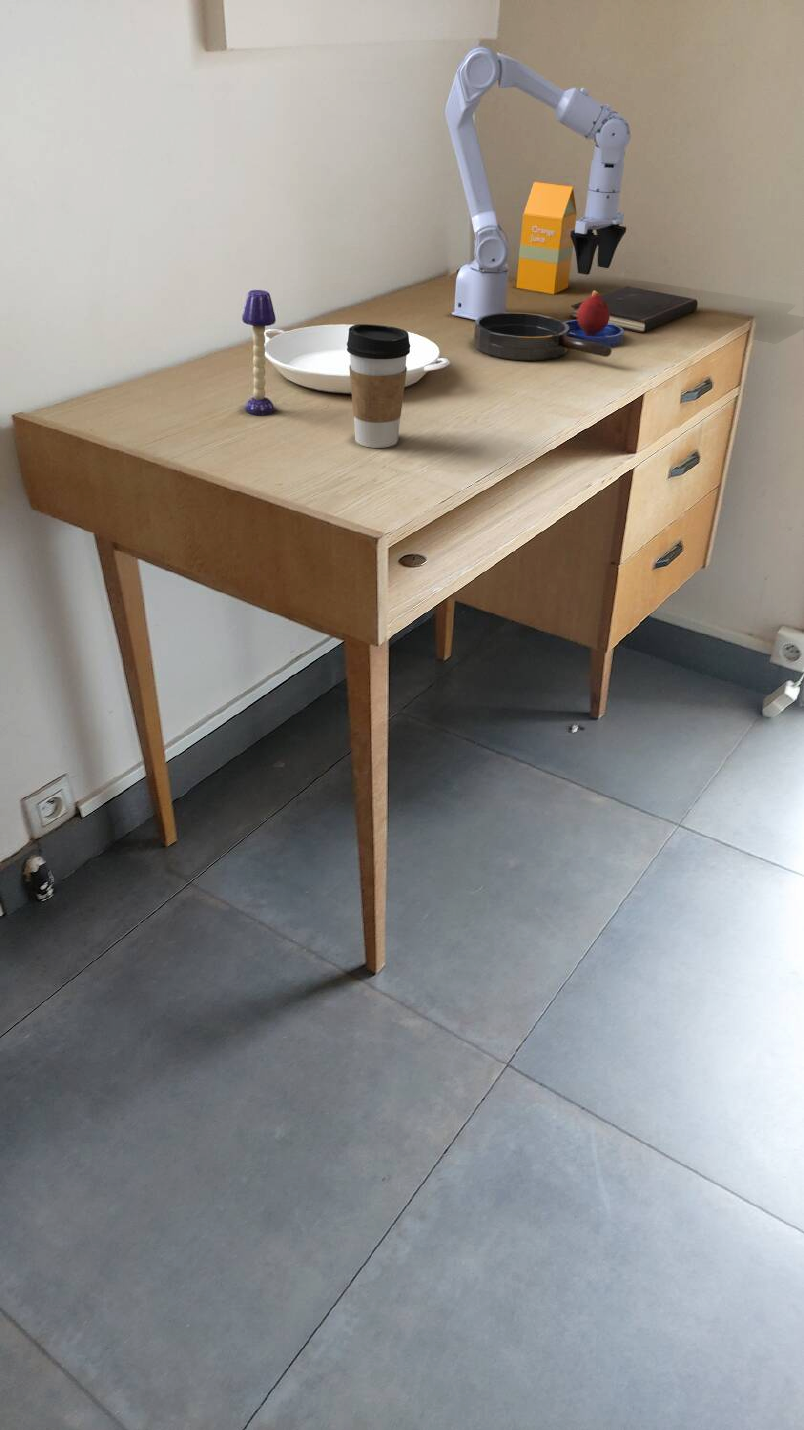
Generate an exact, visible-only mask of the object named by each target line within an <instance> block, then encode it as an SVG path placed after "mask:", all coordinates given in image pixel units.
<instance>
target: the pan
mask: <svg viewBox="0 0 804 1430" xmlns="http://www.w3.org/2000/svg"><path fill="white" fill-rule="evenodd" d="M353 325H354V324H346V323H345V324H344V323H343V324H323V325H321V324H320V325H312V326H305V327H299V328H295V329H290V330H287V331H284V330H283V329H276V328H275V329H273V328H272V329H265V332H264V335H265V343H264V346H265V355H264V356H265V358H266V359H267V360H268V361H269V362H270V363H271V364H272V366H273V367H274V368H275V369H276V370H277V371H278V372H279V373H280V374H281V375H282V376H283V377H284V378H285V379H286V380H288V381H290V382H292V383H294V384H296V385H298V386H301V387H303V388H307V389H310V390H315V391H320V392H325V393H326V392H327V393H331V394H333V393H334V394H345V395H346V394H347V395H349V394H350V395H352V393H351V381H350V369H349V366H350V364H351V362H350V353H349V352H348V351H347V342H348V335H349V328H350V327H351V326H353ZM405 331H406V330H405ZM406 332H408V334H409V343H410V353H409V354H408V355H407V358H406V367H407V372H406V379H405V387H404V388H406V387H407V388H408V387H409V386H412V385H414V384H415V383H418V382H419V380H421V379H422V378H423V377H424V376H425V375H426V374H427V373H428V372H430V371H437V370H440V369H444V368H446V367H447V366H449V365H450V363H451V362H450V360H449V359H448V358H445V357H441V350H440V348H439V346H437V344H436V343H434V342H433V341H432V340H430V339H429V338H427V337H425V336H422V335H420V334H417V333H414V332H411V331H406ZM267 334H275V335H274V336H273V337H269V336H268V335H267Z"/></svg>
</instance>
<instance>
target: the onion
mask: <svg viewBox="0 0 804 1430" xmlns="http://www.w3.org/2000/svg"><path fill="white" fill-rule="evenodd" d="M600 295H601V294H599V292H598V291H596V290H592V292H591V296H589V297H586V299H585V300H584V302H583V301H582V302H583V303H582V304H581V305H580V307H579V309H578V312H577V319H576V320H577V321H578V324H579V326H580V327H581V329H582V330H583V331H584V332H585V333H586V335H587V336H594V335H595V334H597V333H599V332H600V331H602V330H603V329H604V328H605V327H606V325H607V324H608V321H609V308H608V306H607V304H606V302H605V301H604V300H603V299H602V298H601V297H600Z"/></svg>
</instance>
